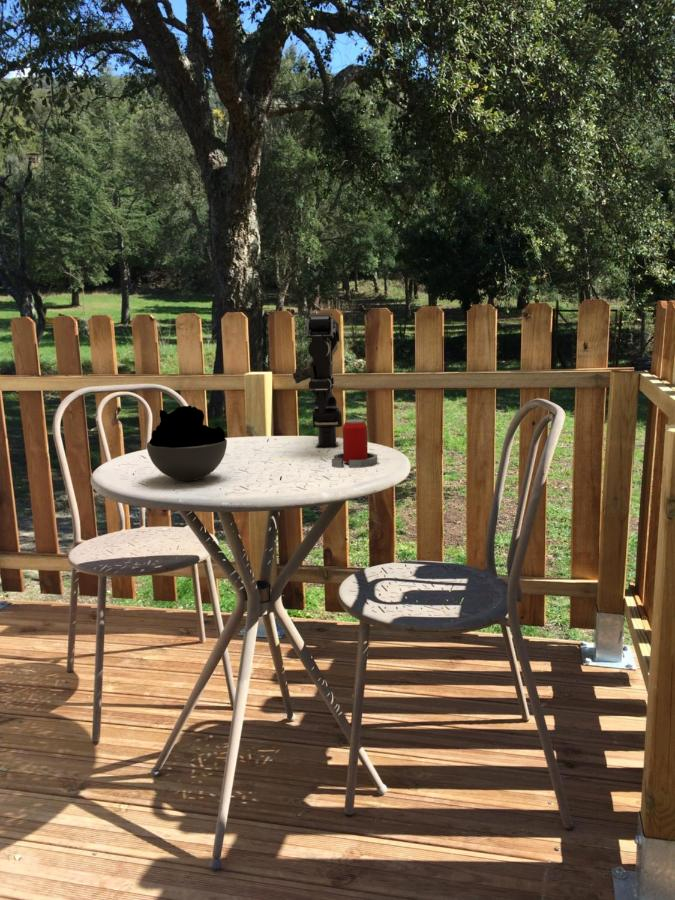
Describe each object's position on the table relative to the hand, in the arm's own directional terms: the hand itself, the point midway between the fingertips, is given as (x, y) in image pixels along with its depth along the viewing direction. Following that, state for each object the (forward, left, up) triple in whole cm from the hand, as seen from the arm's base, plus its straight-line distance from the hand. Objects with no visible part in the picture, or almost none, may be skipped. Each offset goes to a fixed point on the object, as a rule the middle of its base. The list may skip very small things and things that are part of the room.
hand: (322, 410), depth 224 cm
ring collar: (+15, +10, -13) cm, 22 cm away
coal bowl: (+35, -32, -13) cm, 49 cm away
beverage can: (+15, +10, -13) cm, 22 cm away
